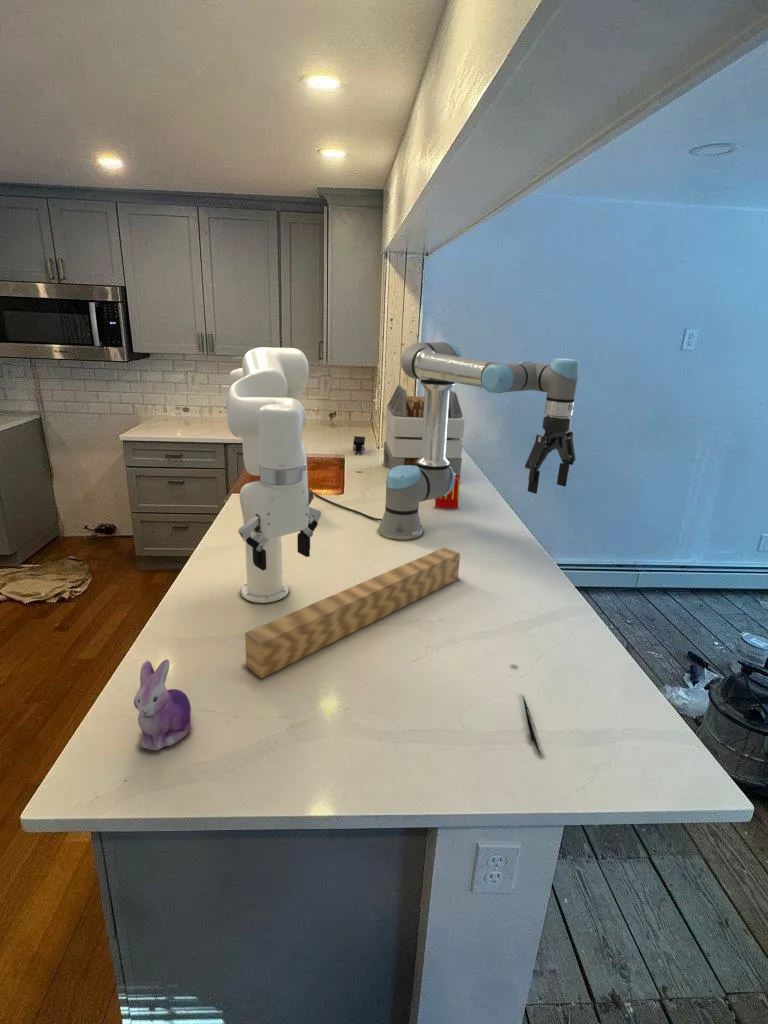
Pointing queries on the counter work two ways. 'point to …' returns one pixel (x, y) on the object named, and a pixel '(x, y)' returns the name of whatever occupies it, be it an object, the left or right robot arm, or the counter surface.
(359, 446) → the figurine character
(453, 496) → the toy
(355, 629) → the beam
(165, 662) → the figurine
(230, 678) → the counter surface
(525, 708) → the feather
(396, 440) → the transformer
